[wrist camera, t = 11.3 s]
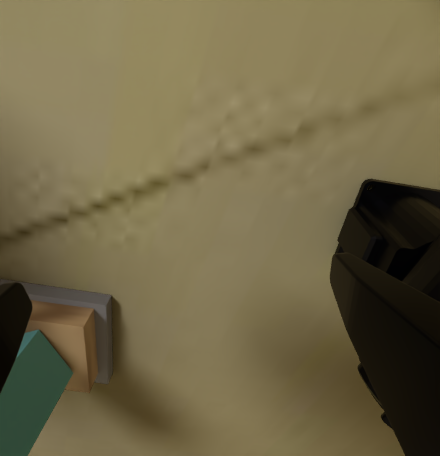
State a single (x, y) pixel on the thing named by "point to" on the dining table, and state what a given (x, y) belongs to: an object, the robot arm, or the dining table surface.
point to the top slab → (69, 339)
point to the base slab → (87, 300)
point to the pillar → (30, 393)
